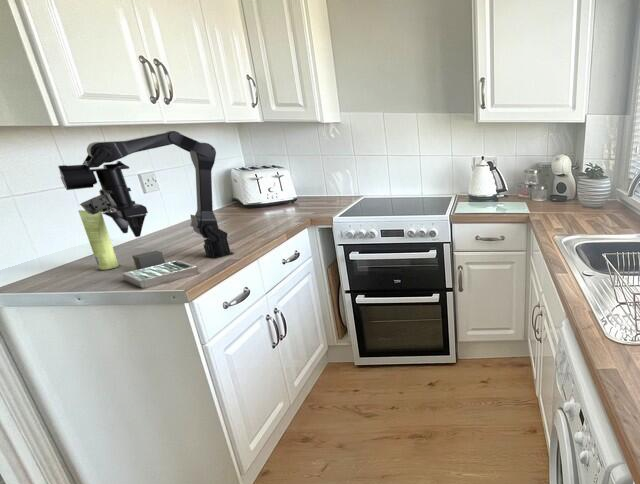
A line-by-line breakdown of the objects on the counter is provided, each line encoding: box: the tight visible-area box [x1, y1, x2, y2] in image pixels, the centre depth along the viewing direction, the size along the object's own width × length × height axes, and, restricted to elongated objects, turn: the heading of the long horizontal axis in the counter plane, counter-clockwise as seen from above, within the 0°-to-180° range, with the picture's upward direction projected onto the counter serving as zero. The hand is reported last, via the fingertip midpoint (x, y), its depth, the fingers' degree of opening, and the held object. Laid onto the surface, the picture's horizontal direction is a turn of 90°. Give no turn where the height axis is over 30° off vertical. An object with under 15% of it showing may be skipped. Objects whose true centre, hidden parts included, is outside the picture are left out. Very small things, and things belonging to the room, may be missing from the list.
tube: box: [77, 209, 119, 271], centre depth 135 cm, size 6×5×20 cm
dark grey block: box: [132, 250, 166, 270], centre depth 137 cm, size 6×5×5 cm
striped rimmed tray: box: [121, 259, 199, 290], centre depth 130 cm, size 15×13×2 cm
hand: (131, 234), depth 131 cm, fingers open, 9 cm apart
